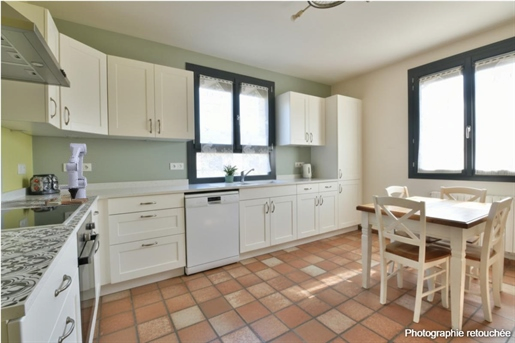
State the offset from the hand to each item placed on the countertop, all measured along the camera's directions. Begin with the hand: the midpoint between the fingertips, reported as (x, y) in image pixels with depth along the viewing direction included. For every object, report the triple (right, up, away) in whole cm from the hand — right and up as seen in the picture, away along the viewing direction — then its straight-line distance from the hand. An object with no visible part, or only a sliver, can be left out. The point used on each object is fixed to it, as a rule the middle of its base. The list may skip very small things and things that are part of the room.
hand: (73, 198), depth 166 cm
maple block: (-4, -1, -2) cm, 4 cm away
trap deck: (-3, -3, -1) cm, 4 cm away
